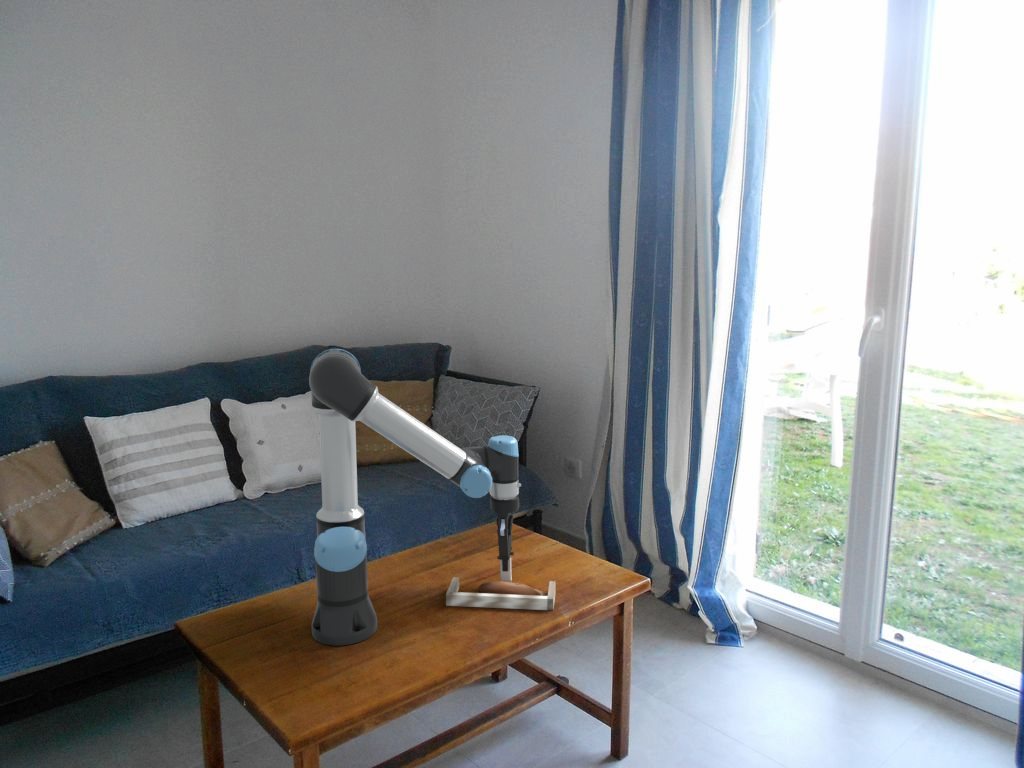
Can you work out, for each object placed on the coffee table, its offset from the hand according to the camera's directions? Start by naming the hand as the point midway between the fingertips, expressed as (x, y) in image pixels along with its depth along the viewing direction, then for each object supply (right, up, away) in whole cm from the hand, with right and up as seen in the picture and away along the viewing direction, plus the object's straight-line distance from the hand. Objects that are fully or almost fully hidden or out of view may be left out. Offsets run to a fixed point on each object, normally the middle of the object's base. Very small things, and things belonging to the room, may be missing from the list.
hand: (506, 580), depth 198 cm
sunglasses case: (+2, -4, -4) cm, 6 cm away
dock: (-1, -3, -7) cm, 7 cm away
